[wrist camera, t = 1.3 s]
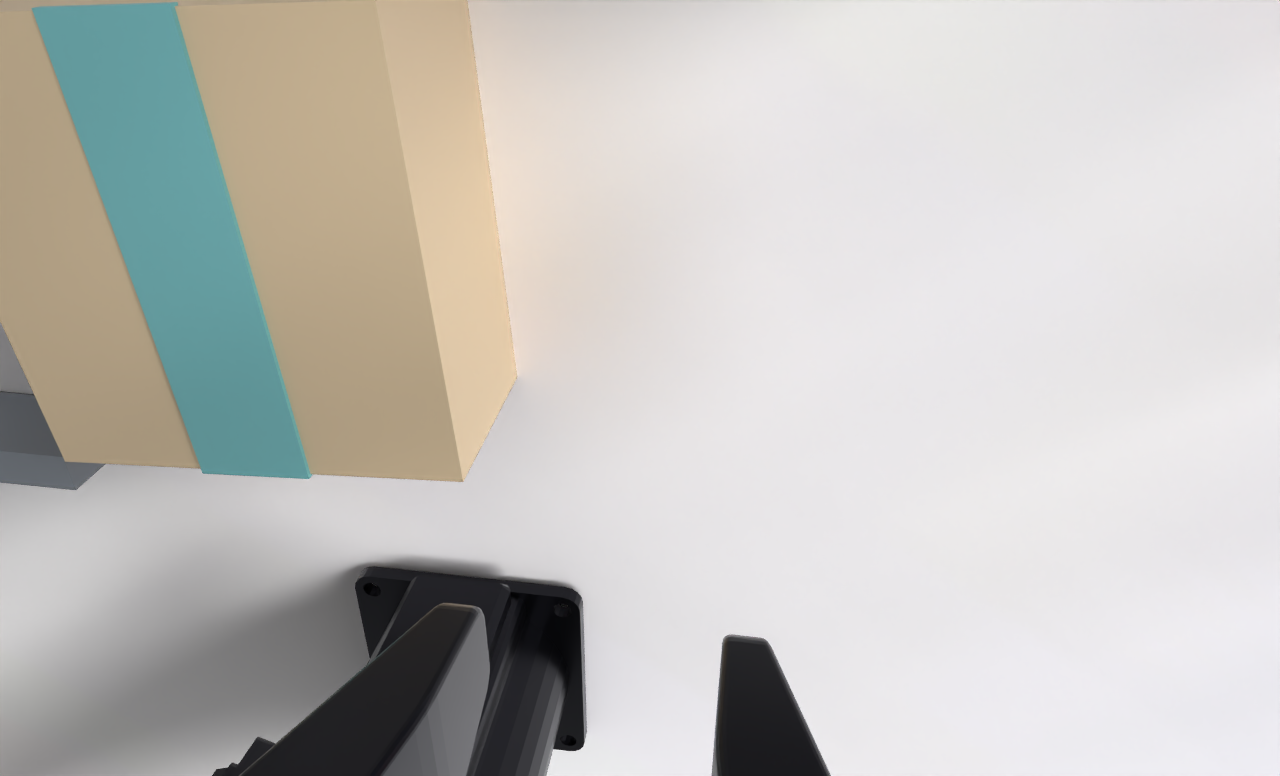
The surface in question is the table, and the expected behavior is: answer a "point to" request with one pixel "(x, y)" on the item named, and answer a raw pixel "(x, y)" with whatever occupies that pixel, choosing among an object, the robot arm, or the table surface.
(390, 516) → the table surface
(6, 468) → the gray u-shaped frame
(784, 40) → the table surface
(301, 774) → the robot arm
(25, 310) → the carton
